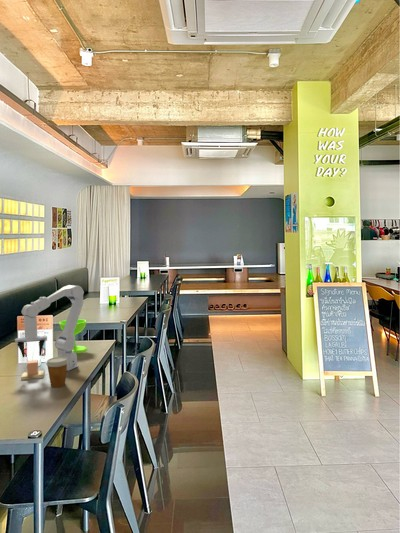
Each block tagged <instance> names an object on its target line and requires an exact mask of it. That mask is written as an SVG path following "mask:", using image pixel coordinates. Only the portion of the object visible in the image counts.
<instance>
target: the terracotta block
mask: <svg viewBox="0 0 400 533" xmlns="http://www.w3.org/2000/svg"><path fill="white" fill-rule="evenodd" d="M38 371H39V359H33V360H28V361H27V363H26V372H27V375H36V374H38Z"/></svg>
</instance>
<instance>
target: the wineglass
mask: <svg viewBox="0 0 400 533" xmlns="http://www.w3.org/2000/svg"><path fill="white" fill-rule="evenodd" d="M66 321H67V319H65V320H61V321H59V322H58V324H59V328H60V329H61V331H62V332H63V330H64V327H65V324H66ZM86 326H87V319H83V318H82V319H81V318H78V321H77V324H76V327H75V330H74V333H73V335H74V338H75V340H74V348H73V350H72V351H73V352H75V353H76V354H82V353H85V352H87V351H88V348H87V347H86V346H85V345H84V346H83V345H76V335H78V334H80V333H81V332H83V330H85V327H86Z"/></svg>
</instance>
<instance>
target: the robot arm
mask: <svg viewBox="0 0 400 533" xmlns="http://www.w3.org/2000/svg"><path fill="white" fill-rule="evenodd" d="M84 294H85V291H84V290H83V287H81V285H74V284H72V285H71V284H67V285H65V286H62V287H61V288H60V289H58V290H56V291H55V292H53V293H52V294H50V295H49V296H47V297H46V296H40V297H39V298H38V299H37V300H35V301H31V302H30V304H26V305H24V306H23V307H22V309H21V314H22V316H23V325H24V326H23V327H24V337H20V338H19V337H18V338H17V337H16V338H15V339H14V343H15V344H16V345H17V347H18V349H19V351H20V352H21V355H22V358H25V356H26V354H25V353H26V352H25V343H31V342H32V343H33V342H38V347H39V352H38V353H39V354H38V355H39V356H40V357H41V356H42V352H43V347H44V344H45V342H47V341H48V336H47V335H45V336H43V335H42V336H41V335H39V336H38V322H37V320H38V319H37V316H38V315H39V313H40V312H42V311H44V310H46V309H47V308H49V307H50V306H51V304H52V303H53V302H55V301H57V300H60V299H61V298H63V297H66V298H68V300H70V302H71V307H70V309H69V313H68V316H67V319H66V320H67V321H66V324H65V327H64V330H63V331H62V332H60V334H59V335H58V337H57V338H56V340H55V342H54V347H55V348H56V349H57V357H65V358H67V361H68V362H67V368H66V372H67V371H68V372H69V371H70V370H73V369H75V368H78V367H79V365H78V355H77V354H76V353H75V352H73V351H72V350H73V348H74V340H75V341H76V337H75V338H74V335H73V333H74V330H75V327H76V324H77V321H78V319H80V314H81V311H82V310H83V306H84Z"/></svg>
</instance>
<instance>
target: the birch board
mask: <svg viewBox="0 0 400 533" xmlns="http://www.w3.org/2000/svg"><path fill="white" fill-rule="evenodd" d="M44 376H45V370H38V374H36V375H27V371H25V372H22V374H21V376H20V380H21V381H24V380H33V379H43V378H44Z"/></svg>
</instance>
